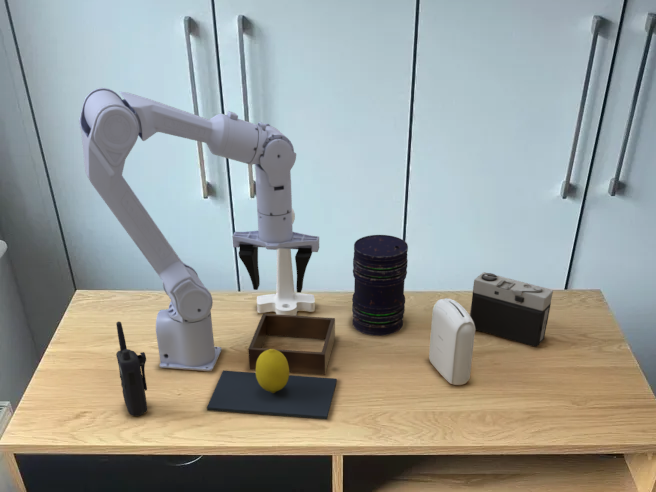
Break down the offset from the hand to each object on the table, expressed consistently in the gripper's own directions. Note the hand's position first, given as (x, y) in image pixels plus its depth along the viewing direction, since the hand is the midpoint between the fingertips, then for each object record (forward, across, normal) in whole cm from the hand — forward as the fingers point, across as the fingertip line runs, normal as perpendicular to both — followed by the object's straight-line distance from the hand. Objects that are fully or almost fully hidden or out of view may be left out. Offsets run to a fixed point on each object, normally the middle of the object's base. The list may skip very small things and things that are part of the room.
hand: (278, 288), depth 150 cm
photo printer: (+11, +31, -6) cm, 33 cm away
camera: (+11, +42, +11) cm, 45 cm away
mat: (+10, +2, -18) cm, 21 cm away
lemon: (+10, +2, -18) cm, 21 cm away
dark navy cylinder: (+11, +17, +10) cm, 22 cm away
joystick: (+11, -1, +12) cm, 16 cm away
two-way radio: (+11, -19, -25) cm, 33 cm away
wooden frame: (+10, +3, -4) cm, 11 cm away
